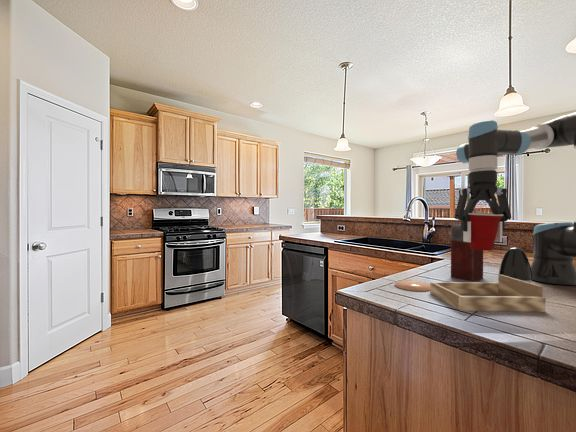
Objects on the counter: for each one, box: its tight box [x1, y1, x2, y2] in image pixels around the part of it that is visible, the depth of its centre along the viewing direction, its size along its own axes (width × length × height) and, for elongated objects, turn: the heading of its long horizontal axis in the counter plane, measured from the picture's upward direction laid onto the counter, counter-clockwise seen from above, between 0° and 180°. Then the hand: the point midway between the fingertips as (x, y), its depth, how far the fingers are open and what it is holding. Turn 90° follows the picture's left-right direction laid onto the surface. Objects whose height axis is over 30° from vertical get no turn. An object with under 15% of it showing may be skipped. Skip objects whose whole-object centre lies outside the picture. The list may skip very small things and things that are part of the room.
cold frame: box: [429, 274, 546, 313], centre depth 89 cm, size 24×18×7 cm
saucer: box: [394, 279, 430, 292], centre depth 108 cm, size 13×13×1 cm
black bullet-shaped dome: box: [498, 246, 533, 283], centre depth 109 cm, size 10×10×15 cm
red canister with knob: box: [450, 224, 484, 282], centre depth 120 cm, size 9×11×28 cm
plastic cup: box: [468, 211, 503, 252], centre depth 89 cm, size 11×11×12 cm
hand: (482, 241), depth 89 cm, fingers closed on plastic cup, 9 cm apart
